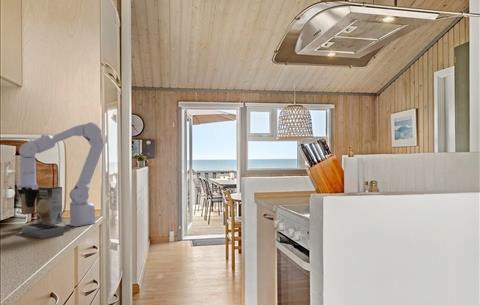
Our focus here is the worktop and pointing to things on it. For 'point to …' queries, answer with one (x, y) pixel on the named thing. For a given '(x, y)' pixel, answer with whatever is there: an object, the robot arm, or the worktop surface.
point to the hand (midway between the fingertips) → (28, 206)
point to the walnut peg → (24, 206)
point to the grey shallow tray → (42, 230)
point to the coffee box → (49, 205)
